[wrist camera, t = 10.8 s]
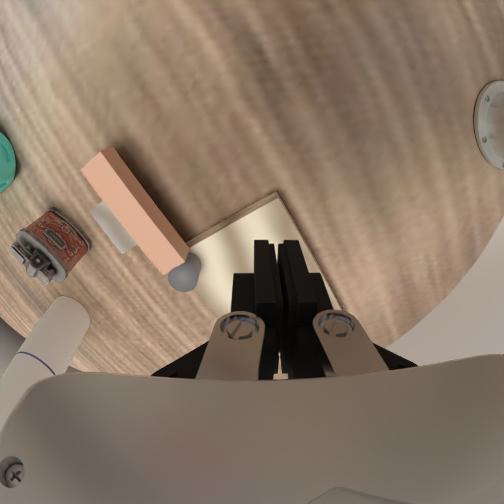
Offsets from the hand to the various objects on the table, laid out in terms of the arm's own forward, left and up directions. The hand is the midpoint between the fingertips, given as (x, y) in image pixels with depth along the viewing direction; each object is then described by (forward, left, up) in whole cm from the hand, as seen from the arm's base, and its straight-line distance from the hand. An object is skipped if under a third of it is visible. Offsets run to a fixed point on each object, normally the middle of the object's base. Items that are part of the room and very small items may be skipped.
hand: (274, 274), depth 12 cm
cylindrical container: (+36, +4, -23) cm, 43 cm away
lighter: (+25, -6, -23) cm, 35 cm away
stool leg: (+13, -1, -20) cm, 24 cm away
